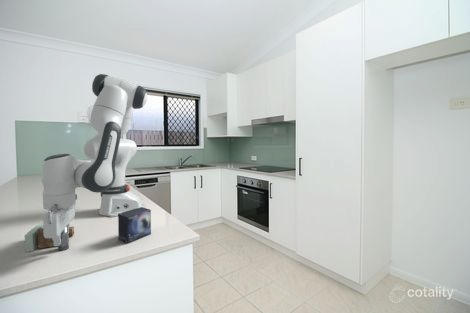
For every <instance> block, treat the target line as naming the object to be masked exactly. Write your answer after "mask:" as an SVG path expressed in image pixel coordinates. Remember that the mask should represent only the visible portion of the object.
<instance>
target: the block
mask: <svg viewBox="0 0 470 313" xmlns="http://www.w3.org/2000/svg"><path fill="white" fill-rule="evenodd" d="M74 235H75V226H69V234H68V240H69V241H70V237H73V236H74ZM52 247H55V246H54V242H53V240H52V238H45V237H44V235H43V229H42V230H41V231H39V232H38V247H37V248H38V249H44V248H52Z"/></svg>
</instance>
